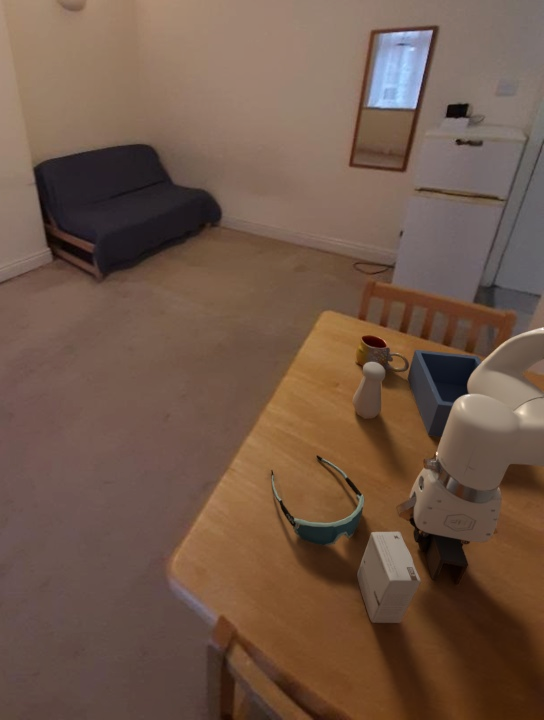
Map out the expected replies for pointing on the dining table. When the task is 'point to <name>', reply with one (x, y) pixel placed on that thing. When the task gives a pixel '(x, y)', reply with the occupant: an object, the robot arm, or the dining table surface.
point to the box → (439, 385)
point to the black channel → (446, 556)
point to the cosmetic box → (387, 577)
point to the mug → (377, 353)
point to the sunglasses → (325, 531)
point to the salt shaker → (369, 391)
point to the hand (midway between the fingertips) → (435, 544)
